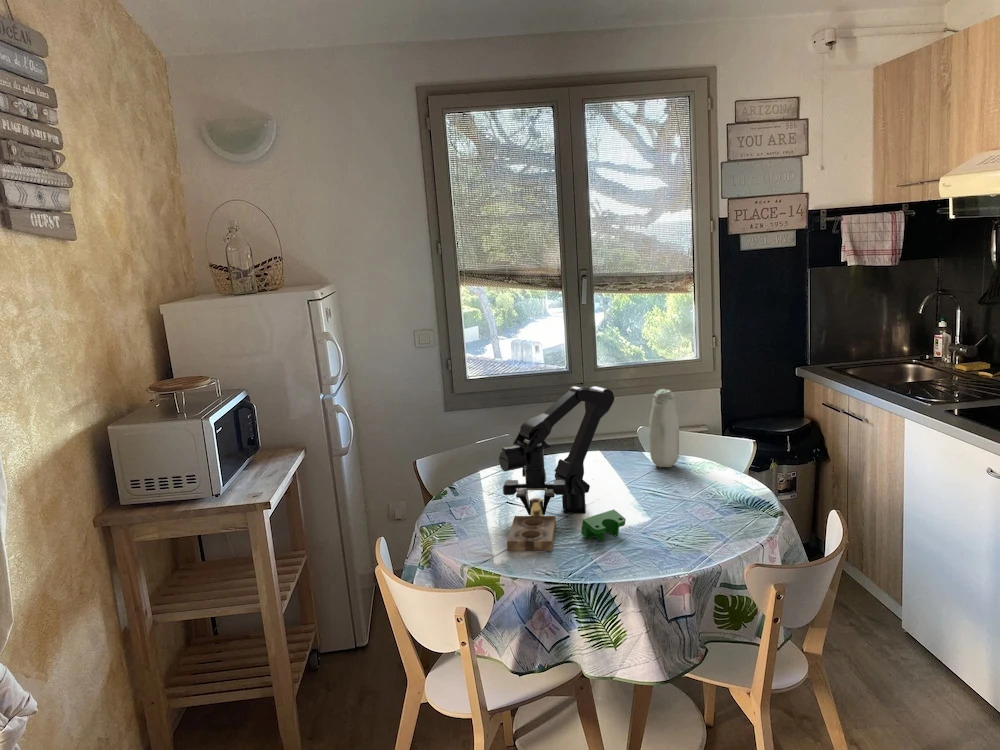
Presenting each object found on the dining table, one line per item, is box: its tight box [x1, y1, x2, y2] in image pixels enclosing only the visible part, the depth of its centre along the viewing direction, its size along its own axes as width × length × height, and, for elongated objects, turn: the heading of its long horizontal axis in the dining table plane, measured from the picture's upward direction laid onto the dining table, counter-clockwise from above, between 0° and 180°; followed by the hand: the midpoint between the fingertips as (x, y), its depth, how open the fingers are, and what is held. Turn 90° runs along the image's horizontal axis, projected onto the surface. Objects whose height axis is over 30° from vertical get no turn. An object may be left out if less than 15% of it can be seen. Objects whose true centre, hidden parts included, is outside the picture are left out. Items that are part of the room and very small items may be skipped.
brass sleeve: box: [529, 497, 545, 516], centre depth 219 cm, size 4×4×6 cm
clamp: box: [580, 508, 626, 542], centre depth 205 cm, size 12×6×9 cm, turn 114°
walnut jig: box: [506, 515, 557, 552], centre depth 206 cm, size 12×18×3 cm
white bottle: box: [648, 388, 680, 468], centre depth 257 cm, size 10×10×28 cm
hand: (536, 514), depth 219 cm, fingers closed on brass sleeve, 4 cm apart
